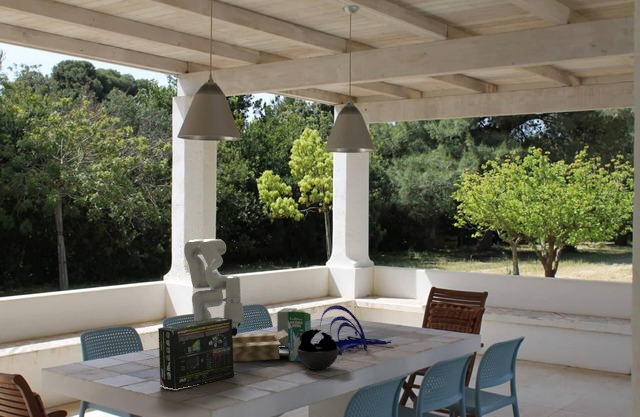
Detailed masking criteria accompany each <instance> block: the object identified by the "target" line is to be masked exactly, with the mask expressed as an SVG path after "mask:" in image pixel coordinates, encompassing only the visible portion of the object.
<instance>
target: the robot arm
mask: <svg viewBox="0 0 640 417" xmlns="http://www.w3.org/2000/svg"><path fill="white" fill-rule="evenodd" d="M183 250H184V257H185V259H186V261H187V264H188V268H189V274H190V281H191V284H192V287H193V289H197V290H198V291H196V292H194V293H193V294H192V296H191V303H192V309H193V322H194V321H200V320H205V319H211V318H213V316H212V314H211V312H210V311H209V309H208V308H212V307H215V308H216V307H220V306H222V305H223V302H225V303H224V307H223V318H228V319H232V335H233V336H236V335H238V328H239V327H240V326H242V325H243V324H245V315H244V313H245V312H244V306H243V302H241V278H240V277H239V276H237V275H236V276H235V275H233V274H227V275H226V274H225V275H219V273H218V271H215V270H217V269H218V268H220V267H221V266H222V265H223V262H224V260H223V257H222V255H224V254H225V253H226V251H227V245H226V243H225V241H224V240H222V239H220V238H217V239H216V238H207V239H206V238H205V239H204V238H203V239H202V238H201V239H192V240H188V241H186V242H185V244H184V248H183ZM200 256H202V257H203V259H202V258H201V257H200ZM203 260H205V262H206V264H207V267H206V266H205V262H204V261H203ZM200 289H205V290H200ZM224 290H225V298H224V294H223V291H224ZM233 324H234V326H233Z"/></svg>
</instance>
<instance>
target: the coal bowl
mask: <svg viewBox="0 0 640 417" xmlns="http://www.w3.org/2000/svg"><path fill="white" fill-rule="evenodd" d="M320 332H321V333H320ZM319 333H320V335H321V336H322V337H323V338H322V337H321V338H322V340H321V339H319V342H316V343H312V340H313V339H314V337H315V336H316V335H317V334H319ZM335 341H336V340H334V339H333V337H332V335H331V336H330V334H329V333H326V332H324V331H322V329H318V328H317V329H316V328H315V329H313V328H311V330H308V331H305V332H304V333H303V335H302V336H301V344H300V345H299V347H298V348H297V352H298V356H299V358H300V360H301V361H300V362H301V363H302V364H304V365H305V367H308V368H309V369H311V370H317V371H319V370H320V371H321V370H324V369H327V368H330V367H331V366H332V365H333V364H334V363H335V361H336V360H337V358H338V356H339V354H338V353H339V347H337V346H336V344H335Z"/></svg>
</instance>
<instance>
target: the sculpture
mask: <svg viewBox="0 0 640 417" xmlns="http://www.w3.org/2000/svg"><path fill="white" fill-rule="evenodd" d="M332 310H338V311H339V310H340V311H343V312H344V313H345V312H346V313H347V314H348V315H349V316H350V317H351V318H352V319H353V320H354V321H355V322H356V325H357V327H358V328H357V327H356V326H355V324H354V323H353V322H352V321H351V320H349V319H348V318H347V317H345V316H342V315H339V316H336V317H335V318H333V319H332V320H331V321H330V326H329V335H330V336H332V335H331V334H332V333H331V331H332V327H333V324H334V323H336V322H338V321H343V322H342V323H340V324H339V326H338V328H337V333H336V334H337V341H336V340H334V341H335V344H336V346H337V347H339V353H338V355H341V356H342V355H343V352H344V351H345V350H346V349H354V348H355V347H358V346H362V347H363V350H364V351H365V352H367V350H368V345H371V346H372V345H373V346H374V345H375V346H376V345H378V346H380V345H383V346H384V345H388V344H392V341H393V340H387V341H386V340H380V339H378V338H377V339H375V338H366V336H365V333H364V330H363V327H362V325H361V324H360V322H359V320H358V319H357V317H356V316H355V315H354V314H353V313H352V311H351V310H350V309H348V308H347V307H345V306H342V305H337V304H336V305H330V306H328V307H327V308H326V309H324V311H323V313H322V316H321V319H320V323H319V326H320V327H321V326H322V324H321V323H322V320H323V318H324V315H325V314H326V313H327V312H329V311H332ZM345 327H348V328H352V329H353V330H354V334H355V336H356V337H354V336H351V335H348V336H346V338H344V339H340V331H341V330H342V328H345ZM319 333H320V334H321V333H322V331H320V332H319ZM358 336H359V337H358ZM320 340H322V337H320Z"/></svg>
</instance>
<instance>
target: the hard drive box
mask: <svg viewBox="0 0 640 417" xmlns="http://www.w3.org/2000/svg"><path fill="white" fill-rule="evenodd" d="M297 310H298V309H297V308H295V307H294V308H293V307H290V308H289V307H285V308H284V307H283V308H282V309H280V310H279V311H277V314H276V316H277V320H276V321H277V323H276V324H277V328H276V330H277V332H280V331H282V330H285V332H286V333H287V334H288V311H290V312H297ZM277 332H276V333H277ZM279 342H280V344H281V345H279V346H285V347H288V337H286V338H283V339H281V340H279Z"/></svg>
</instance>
